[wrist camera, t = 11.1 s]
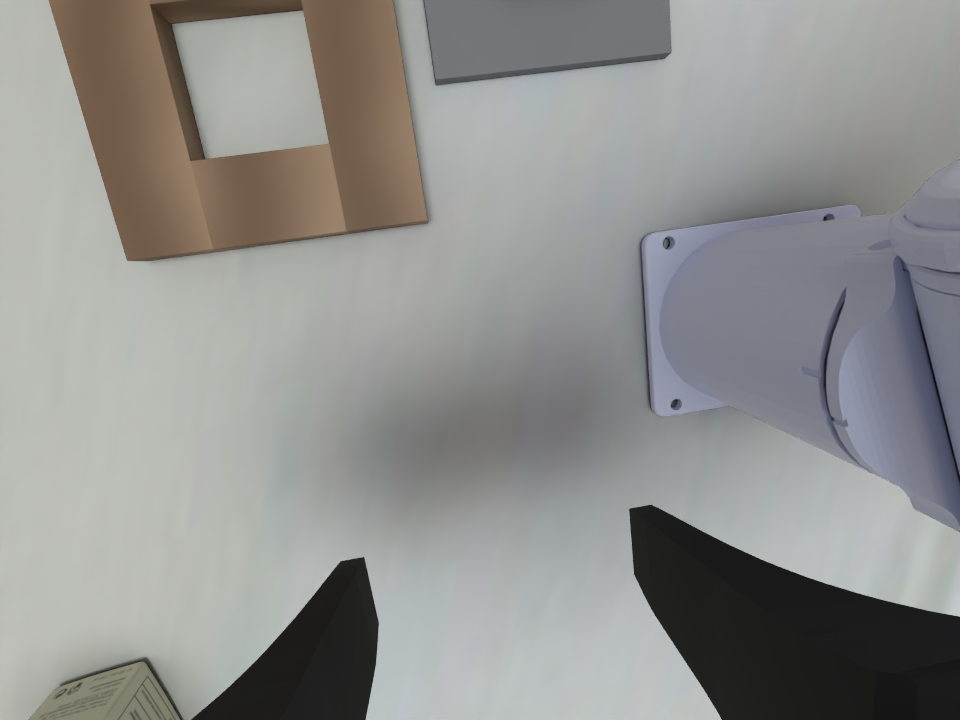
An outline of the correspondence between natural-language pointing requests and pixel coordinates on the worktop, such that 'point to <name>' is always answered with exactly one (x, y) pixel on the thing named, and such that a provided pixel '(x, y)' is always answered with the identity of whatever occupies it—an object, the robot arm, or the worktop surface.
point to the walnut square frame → (250, 177)
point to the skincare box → (109, 698)
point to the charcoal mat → (542, 35)
